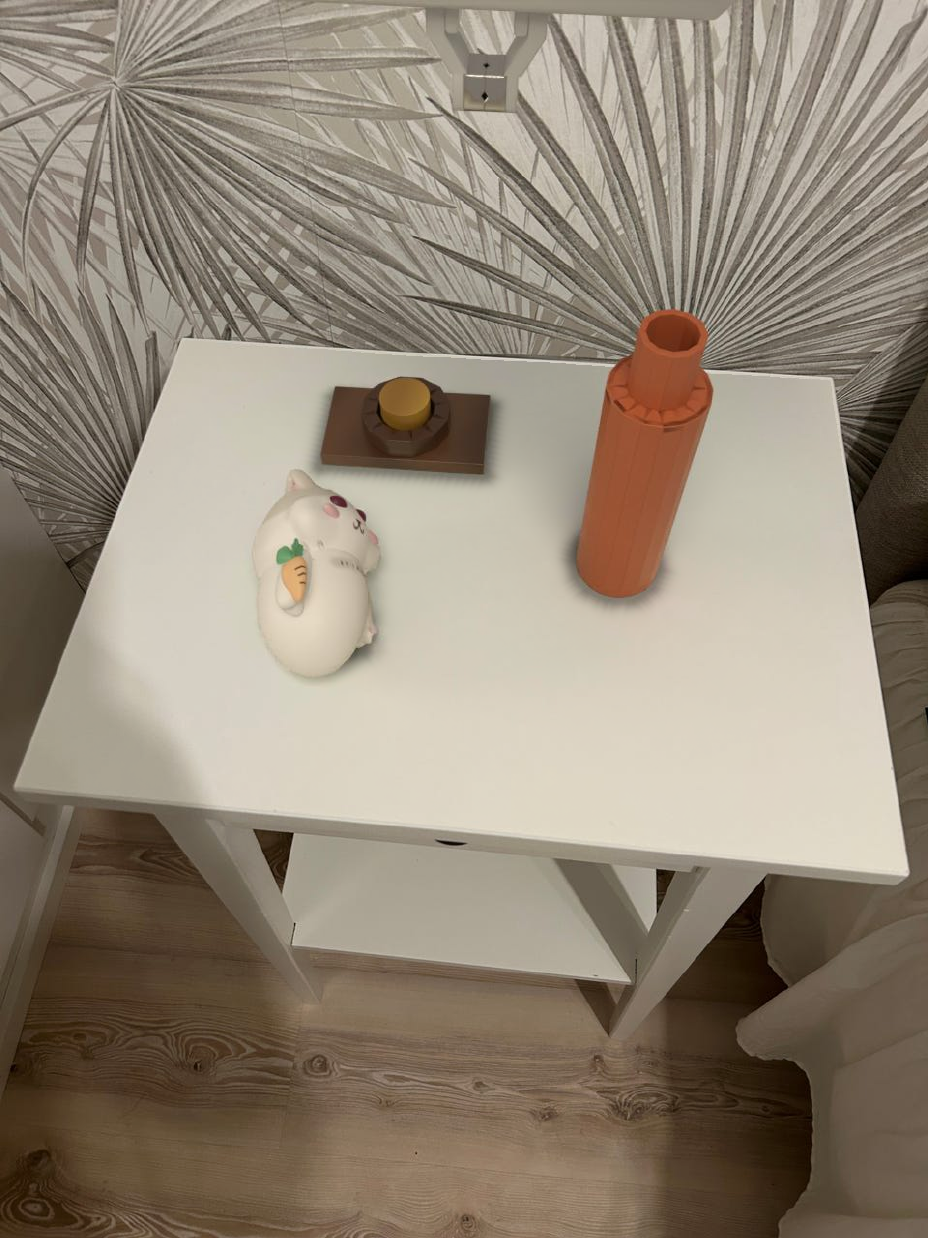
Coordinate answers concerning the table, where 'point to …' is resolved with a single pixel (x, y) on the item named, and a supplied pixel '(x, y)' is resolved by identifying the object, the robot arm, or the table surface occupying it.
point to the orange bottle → (644, 453)
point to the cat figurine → (314, 578)
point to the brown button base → (407, 432)
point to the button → (405, 404)
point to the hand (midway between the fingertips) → (485, 105)
